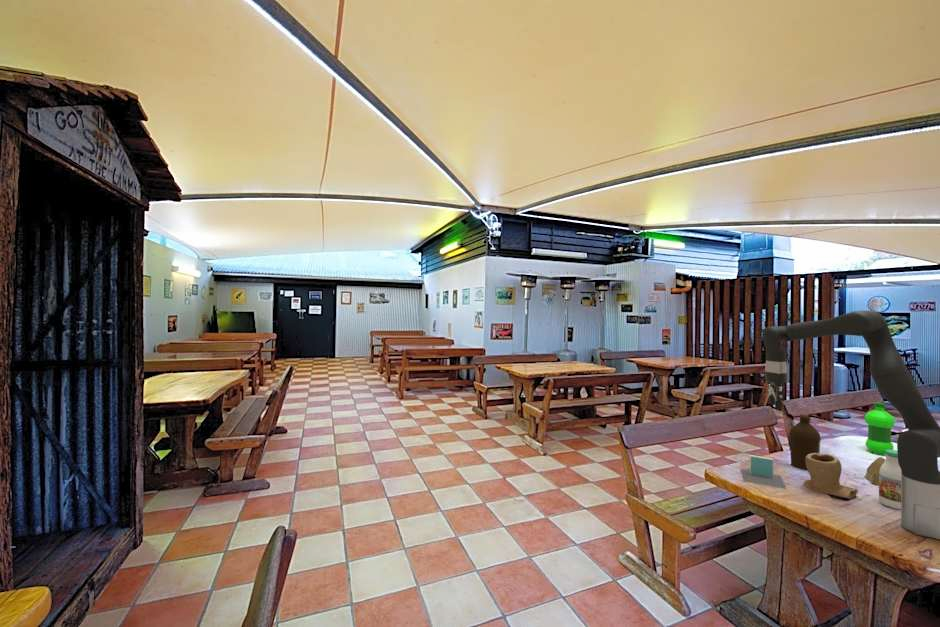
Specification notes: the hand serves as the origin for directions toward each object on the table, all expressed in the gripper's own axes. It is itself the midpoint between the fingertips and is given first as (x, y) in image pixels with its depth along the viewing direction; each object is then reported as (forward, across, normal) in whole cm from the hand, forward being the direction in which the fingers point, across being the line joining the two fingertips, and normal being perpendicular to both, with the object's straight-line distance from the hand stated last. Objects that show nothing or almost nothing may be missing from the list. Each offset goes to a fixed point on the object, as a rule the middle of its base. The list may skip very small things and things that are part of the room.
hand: (775, 406), depth 171 cm
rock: (+29, -4, +35) cm, 45 cm away
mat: (+29, +14, -8) cm, 33 cm away
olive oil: (+29, -7, +13) cm, 33 cm away
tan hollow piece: (+29, +17, +13) cm, 36 cm away
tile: (+28, +12, -7) cm, 31 cm away
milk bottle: (+29, +19, +31) cm, 46 cm away
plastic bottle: (+29, -46, +54) cm, 76 cm away
